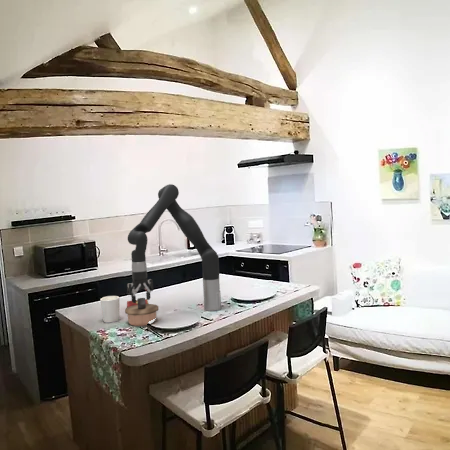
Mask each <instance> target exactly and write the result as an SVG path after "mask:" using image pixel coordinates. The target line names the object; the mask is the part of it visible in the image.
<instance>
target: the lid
mask: <svg viewBox="0 0 450 450" xmlns="http://www.w3.org/2000/svg"><path fill="white" fill-rule="evenodd" d="M145 299H146V297H138V298H136V300H137V301H138V305H134V306H130V307H128V308H127V307H126V308H125V310H124V312H125V314H126V315H127V316H128V315H146V314H151V313H154V312H156V313H157V312H158V311H159V310H160V309H159V307H160V306H159V305H157V304H154V303H153V304H152V303H149V304H146V303H145Z"/></svg>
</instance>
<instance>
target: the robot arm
mask: <svg viewBox="0 0 450 450" xmlns="http://www.w3.org/2000/svg"><path fill="white" fill-rule="evenodd" d="M179 191H180V190H179V189H178V186H176V185H175V184H173V183H169V184H166V185H164V187H162V188H161V189H160V190H159V191H158V193H157V198H158V200H157V201H156V203H154V205H153V206H152V207H151V208H150V209H149V210H148V211H147V213H146V214H145V215H144V216H143V218H142V219H141V221H140V222H139V223H138V224H137V225H136V226H134V227H133V228H132V229H131V230H130V231H129V233H128V235H127V241H128V243H129V244H130V245H133V246H135V248H134V249H133V250H132V251H131V253H130V255H131V278H132V282H131V283H126V289H127V290H126V292H127V295H128V296H131V301H132V302H133V303H136V300H137V298H136V297H137V296H136V294H137V293H138V291H141V290H145V296H146V297H145V299H147V300H148V301H149V300H150V299H151V292H153V291H154V282H153V281H154V280H153V279H151V278H149V279H148V267H147V266H148V265H147V260H146V259H147V258H146V251H147V246H148V236H147V234H146V233H150V232H151V231H152V230H153V229H154V228H155V225H157V223H158V222H159V220H160V218H161V217H162V215H163V214H164V213H165V211H168V212H169V213H170V215H171V217H172V218H173V220H174V221H175V223H176V224H177V225H178V227H179V229H180V230H181V232H182V233H183V235H184V236H185V238H187V240H188V241H189V242H190V243H191V244H192V245H193V246H194V248H195V249H196V251H197V253H198V254H199V257H200V258H201V265H202V268H201V269H202V288H203V290H202V291H203V308H204V310H205V311H208V312H209V311H210V312H212V311H219V310H220V311H221V308H222V298H221V295H222V293H221V290H220V289H221V287H220V285H221V283H220V260H219V258H220V257H219V255H218V253H217V252H216V250H215V249H214V248H213V247H212V246H211V245H210V243H209V242H208V240H207V239H206V238H205V236H204V234H203V231H202V229H201V228H200V226H199V224H198V222H197V221H196V220H195V218H194V217H193V216H192V214H190V213H188V212H187V211H186V210H184V209H183V208H182V207H181V206H180V205H179V204H178V202H177V198H178V197H179V193H180V192H179Z"/></svg>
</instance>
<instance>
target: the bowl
mask: <svg viewBox="0 0 450 450" xmlns="http://www.w3.org/2000/svg"><path fill="white" fill-rule="evenodd" d="M156 317H157V312H154V313H151V314H146V315H128V314H127V322H128V324H129V325H131V326H134V327H143V326H144V327H145V326H148V325H147V324H148V322H149V321H151V320H153V319H155V318H156Z"/></svg>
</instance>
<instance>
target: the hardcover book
mask: <svg viewBox="0 0 450 450" xmlns="http://www.w3.org/2000/svg"><path fill="white" fill-rule="evenodd" d="M145 303H146V304H150V302H149V300H147V298H145ZM134 305H138V301H137V299H136V303H133V302H132V300H127V301H126V308H128V307H130V306H134Z"/></svg>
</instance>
